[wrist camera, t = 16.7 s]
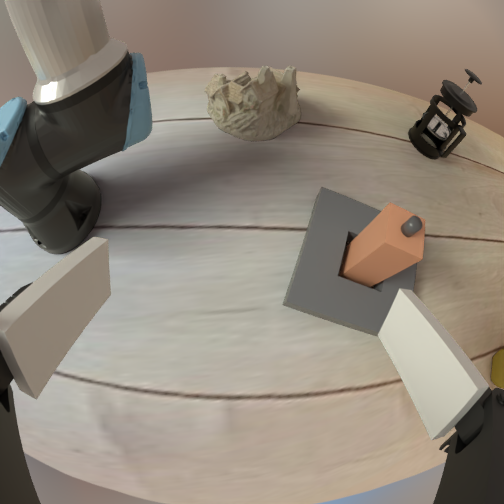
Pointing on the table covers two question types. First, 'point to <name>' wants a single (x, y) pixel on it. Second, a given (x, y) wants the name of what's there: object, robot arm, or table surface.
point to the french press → (436, 126)
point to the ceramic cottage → (255, 103)
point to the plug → (384, 247)
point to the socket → (328, 264)
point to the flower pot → (498, 369)
